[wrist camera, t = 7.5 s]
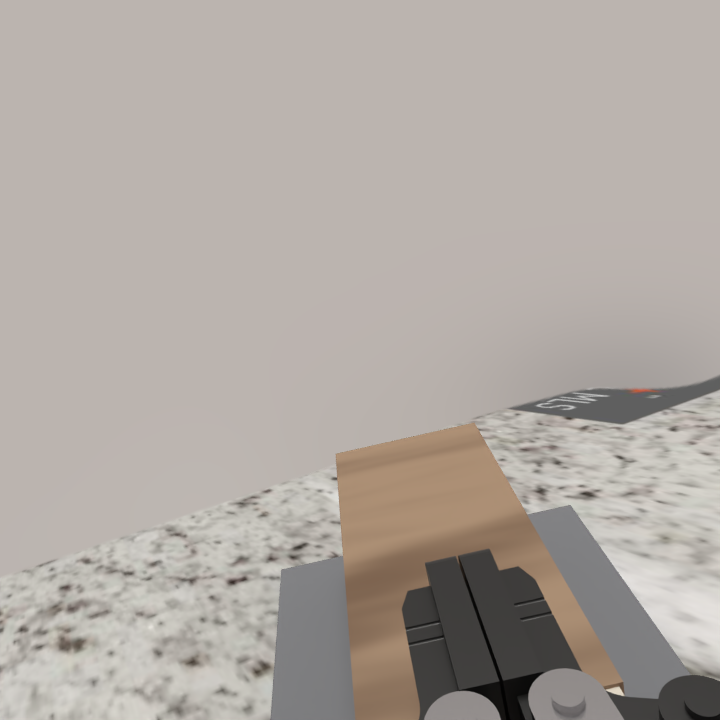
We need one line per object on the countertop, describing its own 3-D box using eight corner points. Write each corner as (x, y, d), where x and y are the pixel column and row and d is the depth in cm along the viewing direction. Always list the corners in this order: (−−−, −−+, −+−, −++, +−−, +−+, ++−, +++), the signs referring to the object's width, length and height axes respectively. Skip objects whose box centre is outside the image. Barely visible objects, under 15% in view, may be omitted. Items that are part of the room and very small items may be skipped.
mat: (773, 807, 17) (773, 792, 17) (262, 920, 17) (256, 906, 17) (571, 515, 30) (570, 505, 30) (284, 579, 30) (281, 569, 30)
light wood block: (632, 696, 14) (474, 422, 27) (358, 758, 14) (335, 453, 27) (648, 878, 16) (493, 539, 29) (409, 931, 16) (364, 568, 29)
